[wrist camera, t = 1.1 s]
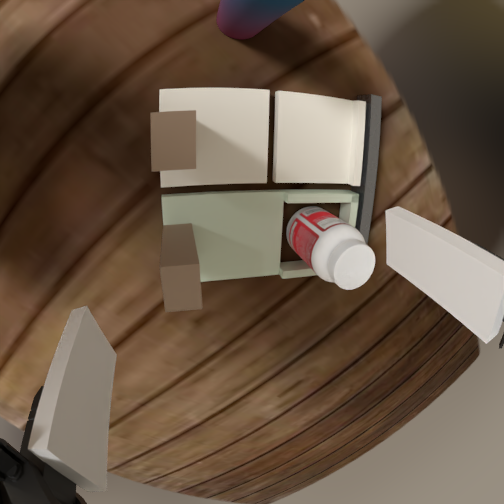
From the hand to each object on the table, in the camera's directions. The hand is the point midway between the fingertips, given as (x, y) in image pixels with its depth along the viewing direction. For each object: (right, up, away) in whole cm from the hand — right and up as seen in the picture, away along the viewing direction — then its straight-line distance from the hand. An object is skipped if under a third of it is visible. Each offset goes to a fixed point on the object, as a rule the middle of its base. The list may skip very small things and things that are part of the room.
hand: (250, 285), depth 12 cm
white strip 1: (-4, +13, +18) cm, 22 cm away
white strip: (+7, +14, +20) cm, 26 cm away
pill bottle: (+7, +4, +25) cm, 26 cm away
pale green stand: (+1, +4, +23) cm, 24 cm away
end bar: (+13, +10, +24) cm, 29 cm away
